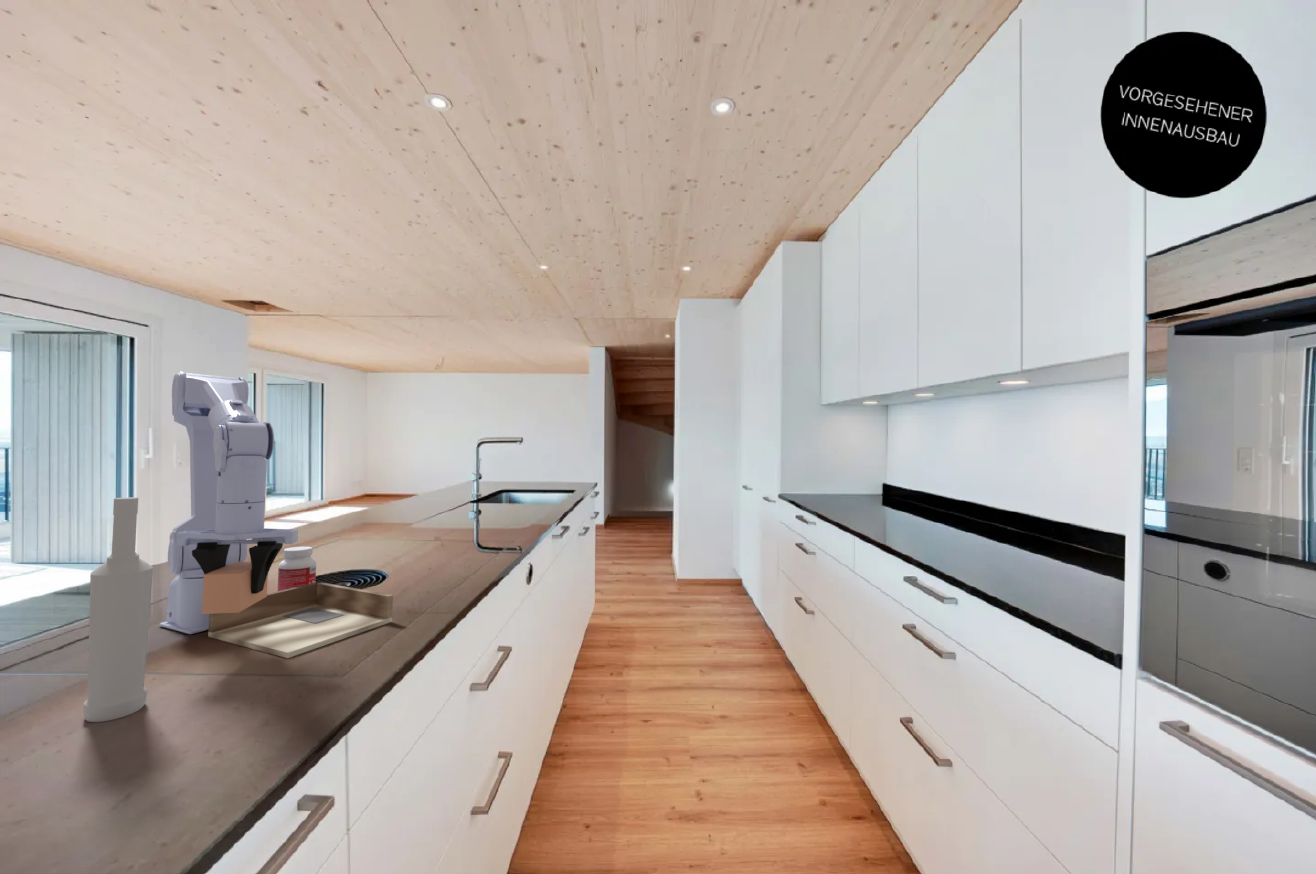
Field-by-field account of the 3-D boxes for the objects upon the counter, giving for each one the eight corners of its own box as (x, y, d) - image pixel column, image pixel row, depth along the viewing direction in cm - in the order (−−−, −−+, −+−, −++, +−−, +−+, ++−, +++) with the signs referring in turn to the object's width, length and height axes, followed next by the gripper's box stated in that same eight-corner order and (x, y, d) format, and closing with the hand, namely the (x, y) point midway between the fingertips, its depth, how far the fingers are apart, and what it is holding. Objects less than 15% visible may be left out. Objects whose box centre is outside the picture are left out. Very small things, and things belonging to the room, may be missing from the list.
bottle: (88, 728, 57) (100, 501, 57) (77, 714, 59) (88, 498, 60) (152, 708, 61) (163, 498, 62) (139, 696, 64) (149, 495, 64)
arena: (208, 636, 84) (209, 607, 84) (317, 606, 100) (318, 581, 100) (287, 658, 76) (288, 625, 76) (391, 621, 93) (392, 595, 93)
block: (239, 612, 73) (241, 573, 73) (201, 614, 72) (204, 574, 72) (266, 596, 81) (268, 561, 81) (233, 597, 80) (235, 562, 80)
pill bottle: (314, 606, 100) (316, 549, 101) (275, 611, 97) (278, 552, 97) (314, 598, 106) (316, 544, 106) (277, 602, 102) (280, 547, 102)
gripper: (165, 504, 71) (160, 603, 71) (285, 504, 75) (281, 597, 75) (195, 499, 78) (191, 589, 78) (304, 499, 82) (301, 585, 82)
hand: (237, 592), depth 77 cm, fingers closed on block, 4 cm apart
